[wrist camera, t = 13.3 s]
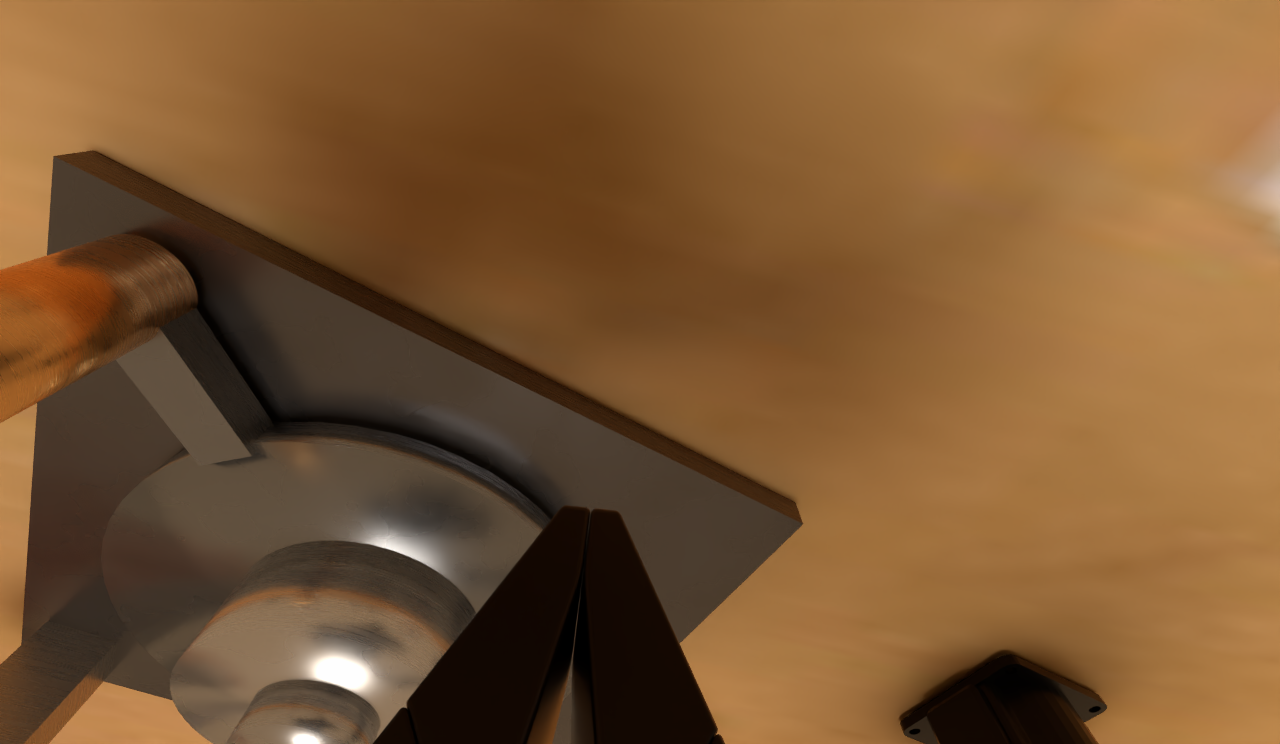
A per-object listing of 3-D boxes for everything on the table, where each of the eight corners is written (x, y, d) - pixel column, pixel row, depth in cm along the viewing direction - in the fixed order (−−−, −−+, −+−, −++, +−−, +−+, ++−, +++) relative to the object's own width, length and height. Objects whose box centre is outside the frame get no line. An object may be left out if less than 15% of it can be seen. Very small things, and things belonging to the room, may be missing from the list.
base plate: (795, 503, 19) (803, 523, 18) (524, 774, 28) (520, 796, 27) (92, 150, 13) (53, 155, 12) (44, 635, 22) (20, 658, 21)
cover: (428, 523, 16) (366, 657, 12) (511, 678, 20) (482, 815, 16) (188, 559, 17) (62, 695, 13) (313, 701, 21) (242, 837, 17)
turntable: (426, 159, 12) (303, 210, 8) (635, 701, 22) (634, 854, 18) (-163, 301, 14) (-541, 409, 9) (287, 744, 24) (209, 893, 20)
